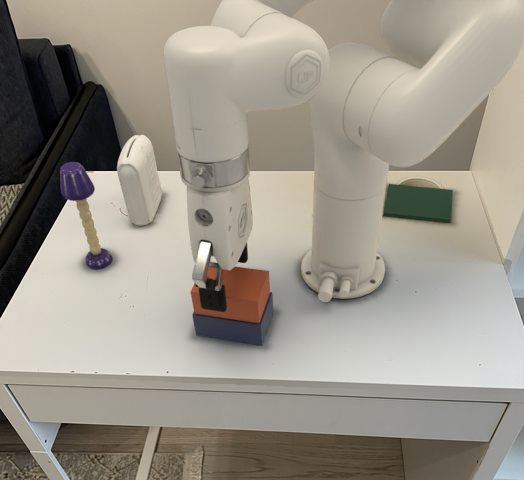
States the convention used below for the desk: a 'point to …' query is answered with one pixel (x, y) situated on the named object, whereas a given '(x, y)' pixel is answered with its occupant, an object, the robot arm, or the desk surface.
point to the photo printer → (139, 179)
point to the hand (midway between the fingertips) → (225, 283)
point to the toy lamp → (84, 210)
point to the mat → (418, 203)
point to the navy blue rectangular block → (235, 326)
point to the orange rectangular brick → (239, 294)
